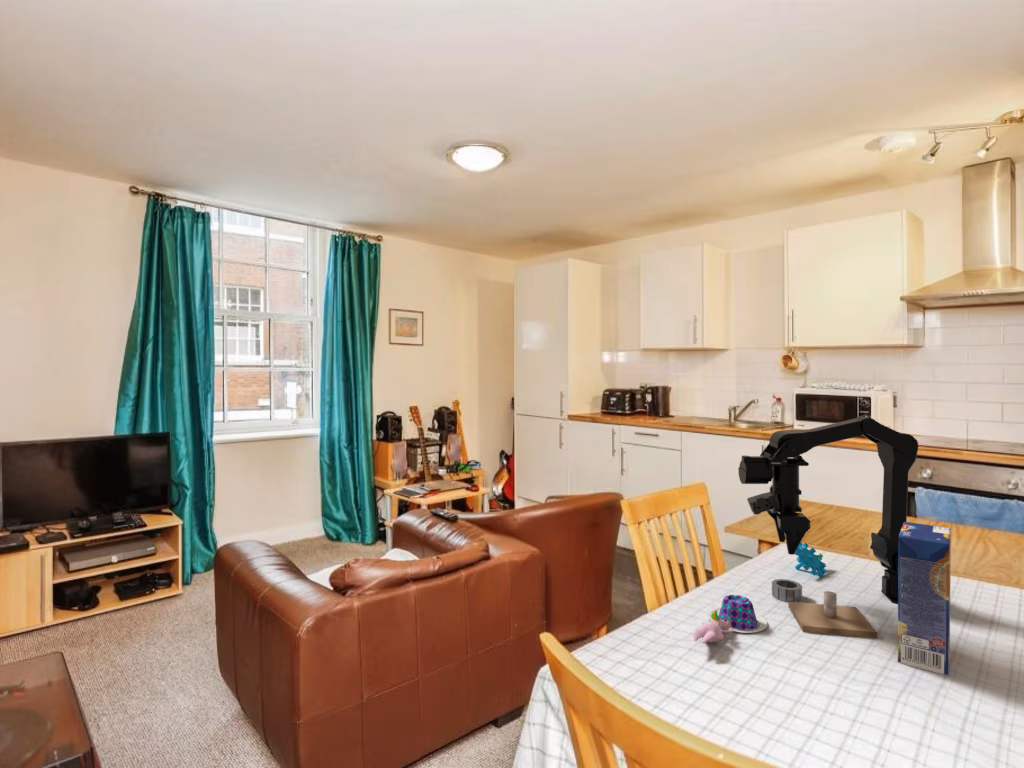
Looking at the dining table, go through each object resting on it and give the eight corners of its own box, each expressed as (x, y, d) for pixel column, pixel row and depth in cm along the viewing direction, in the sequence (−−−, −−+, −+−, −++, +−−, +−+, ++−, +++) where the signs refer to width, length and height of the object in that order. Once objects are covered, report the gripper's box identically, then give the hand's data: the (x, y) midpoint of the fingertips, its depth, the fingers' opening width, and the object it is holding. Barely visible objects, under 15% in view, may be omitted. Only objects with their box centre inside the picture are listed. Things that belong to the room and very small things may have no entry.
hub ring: (797, 592, 136) (797, 580, 136) (804, 603, 130) (804, 590, 130) (769, 590, 138) (769, 578, 138) (775, 600, 132) (775, 588, 131)
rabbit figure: (709, 628, 121) (682, 645, 110) (710, 600, 122) (684, 614, 110) (738, 637, 117) (714, 655, 106) (740, 608, 118) (716, 623, 106)
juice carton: (948, 675, 99) (949, 544, 99) (897, 662, 104) (898, 536, 103) (949, 648, 109) (950, 527, 108) (903, 637, 113) (904, 521, 113)
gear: (813, 575, 142) (789, 540, 149) (796, 586, 146) (774, 551, 152) (837, 572, 148) (814, 539, 154) (820, 583, 151) (798, 550, 158)
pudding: (771, 618, 124) (771, 595, 123) (762, 641, 114) (762, 616, 113) (715, 606, 130) (715, 584, 130) (702, 627, 120) (702, 603, 120)
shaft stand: (855, 612, 125) (856, 585, 125) (877, 637, 113) (877, 608, 113) (788, 606, 128) (788, 580, 128) (802, 631, 117) (802, 602, 116)
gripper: (743, 475, 144) (744, 534, 145) (756, 491, 126) (757, 559, 127) (790, 476, 141) (790, 536, 142) (810, 493, 123) (811, 562, 124)
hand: (786, 547), depth 134 cm, fingers open, 9 cm apart
